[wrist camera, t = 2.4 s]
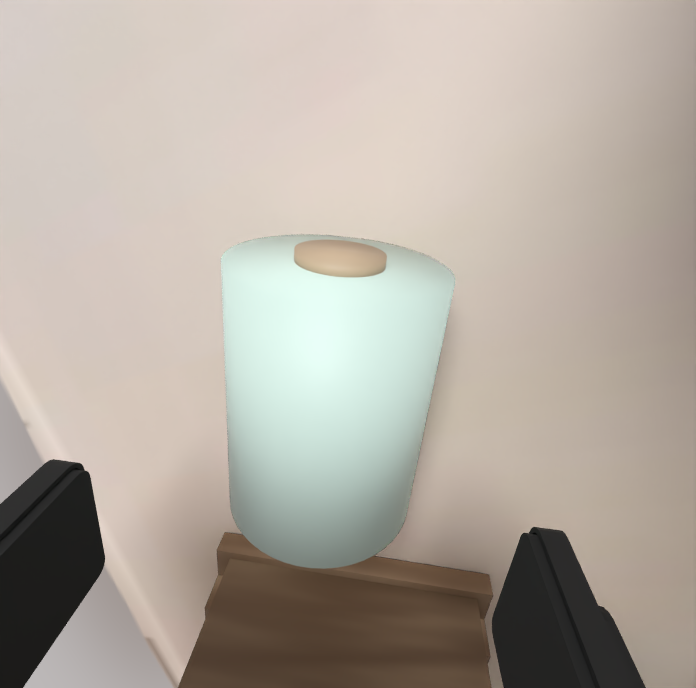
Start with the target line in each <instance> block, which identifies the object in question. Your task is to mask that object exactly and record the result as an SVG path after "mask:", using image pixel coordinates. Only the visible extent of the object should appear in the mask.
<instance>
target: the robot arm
mask: <svg viewBox="0 0 696 688" xmlns="http://www.w3.org/2000/svg"><path fill="white" fill-rule="evenodd" d="M104 563H105V554H104V549H103V543H102V538H101V533H100V527H99V522H98V516H97V511H96V505H95V500H94V495H93V489H92V484H91V478H90V474H89V473H88V472H87V471H85V470H84V467H83V465H82V464H81V463H75V462H68V461H61V460H54V459H53V460H50V461H48V462H47V463H45V464H44V465H43V466H42V467H41V468H39V469H38V470H37V471H36V472H35V473H34V474H33V475H32V476H31V477H30V478H29V479H27V480H26V481H25V482H24V483H23V484H22V485H21V486H20V487H19V488H18V489H17V490H15V492H13V493H12V494H11V495H10V496H9V497H8V498H7V499H5V500H4V501H3V502H2V503H1V504H0V688H23V687H24V685H25V683H26V682H27V681H28V679H29V678H30V677H31V675H32V673H33V672H34V671H35V669H36V668H37V666H38V665H39V663H40V662H41V660H42V659H43V658H44V656H45V655H46V653H47V652H48V650H49V649H50V647H51V646H52V644H53V643H54V641H55V640H56V638H57V637H58V635H59V634H60V633H61V631H62V630H63V628H64V627H65V625H66V624H67V622H68V621H69V619H70V618H71V616H72V615H73V613H74V612H75V611H76V609H77V608H78V606H79V605H80V603H81V602H82V600H83V599H84V598H85V596H86V595H87V593H88V592H89V590H90V589H91V587H92V586H93V584H94V583H95V581H96V580H97V578H98V577H99V575H100V574H101V572H102V569H103V567H104ZM492 633H493V638H494V643H495V648H496V653H497V658H498V662H499V667H500V672H501V677H502V682H503V686H504V688H646V687H645V685H644V683H643V681H642V679H641V677H640V675H639V673H638V670H637V668H636V666H635V664H634V662H633V660H632V658H631V656H630V653H629V651H628V649H627V647H626V645H625V643H624V641H623V639H622V636H621V634H620V632H619V630H618V628H617V626H616V624H615V622H614V620H613V618H612V617H611V615H610V613H609V612H608V611H607V610H606V609H605V608H604V607H601V606H598V604H597V602H596V600H595V598H594V595H593V593H592V591H591V589H590V587H589V584H588V582H587V580H586V578H585V575H584V573H583V571H582V569H581V567H580V564H579V562H578V560H577V558H576V555H575V553H574V551H573V549H572V547H571V544H570V542H569V540H568V538H567V536H566V534H565V533H564V532H563V531H559V530H552V529H545V528H538V527H533V528H532V529H531V530H530V532H529V534H528V533H523V534H522V535H521V537H520V540H519V543H518V546H517V549H516V552H515V554H514V557H513V560H512V563H511V566H510V569H509V571H508V574H507V577H506V580H505V583H504V586H503V588H502V591H501V594H500V597H499V600H498V603H497V605H496V608H495V611H494V614H493V618H492Z"/></svg>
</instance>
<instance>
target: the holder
mask: <svg viewBox="0 0 696 688" xmlns="http://www.w3.org/2000/svg"><path fill="white" fill-rule="evenodd" d="M217 561H218V577H217V579H216V582H215V584H214V587H213V589H212V591H211V594H210V596H209V599H208V601H207V604H206V606H205V618H206V619H205V622H204V624H203V627H202V629H201V632H200V634H199V637H198V639H197V642H196V644H195V647H194V649H193V652H192V654H191V657H190V659H189V662H188V664H187V667H186V669H185V672H184V674H183V677H182V679H181V682H180V684H179V687H178V688H491V683H490V676H489V670H488V662H489V659H490V651H489V645H488V639H487V633H486V627H485V621H484V618H485V616H486V613H487V610H488V608H489V605H490V602H491V600H492V597H493V592H492V587H491V582H490V577H489V575H488V574H482V573H475V572H469V571H463V570H457V569H451V568H444V567H438V566H432V565H426V564H419V563H413V562H407V561H401V560H394V559H388V558H382V557H376V556H372V557H370V558H368V559H366V560H364V561H361V562H358V563H355V564H352V565H348V566H343V567H338V568H326V569H322V568H307V567H300V566H295V565H292V564H288V563H284V562H282V561H279V560H277V559H275V558H272V557H270V556H269V555H267V554H265V553H264V552H262V551H260V550H259V549H258V548H256V547H255V546H254V545H253V544H251V543H250V542H249V541H248V539H247V538H246V537H245V536H244V535H239V534H233V533H226V532H225V533H224V535H223V537H222V540H221V542H220V544H219V547H218V549H217Z"/></svg>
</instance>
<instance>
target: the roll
mask: <svg viewBox="0 0 696 688" xmlns="http://www.w3.org/2000/svg"><path fill="white" fill-rule="evenodd" d="M221 273H222V300H223V327H224V354H225V381H226V408H227V435H228V462H229V489H230V506H231V511H232V515H233V518H234V520H235V522H236V524H237V527H238V528H239V529H240V531H241V532H242V534H243V535H244V536H245V537H246V538H247V539H248V541H249V542H250V543H251V544H253V545H254V546H255V547H256V548H258V549H259V550H260V551H262V552H264V553H265V554H267V555H269V556H270V557H272V558H275V559H277V560H279V561H282V562H284V563H288V564H292V565H295V566H300V567H307V568H322V569H326V568H338V567H343V566H348V565H352V564H355V563H358V562H361V561H364V560H366V559H368V558H370V557H372V556H374V555H375V554H377V553H378V552H380V551H381V550H383V549H384V548H385V547H386V546H387V545H389V544H390V543H391V542H392V541H393V539H394V538H395V537H396V536H397V534H398V533H399V531H400V529H401V528H402V526H403V524H404V521H405V518H406V514H407V510H408V505H409V500H410V495H411V491H412V486H413V481H414V476H415V472H416V467H417V462H418V457H419V453H420V448H421V443H422V438H423V434H424V429H425V424H426V419H427V414H428V410H429V405H430V400H431V395H432V391H433V386H434V381H435V376H436V372H437V367H438V362H439V357H440V353H441V348H442V343H443V338H444V334H445V329H446V324H447V319H448V315H449V310H450V305H451V300H452V296H453V291H454V286H455V276H454V274H453V273H452V271H451V270H450V269H449V268H448V267H447V266H445V265H444V264H442V263H441V262H439V261H437V260H436V259H434V258H432V257H429V256H427V255H425V254H422V253H419V252H417V251H414V250H411V249H407V248H404V247H400V246H396V245H393V244H388V243H383V242H379V241H373V240H367V239H358V238H350V237H341V236H332V235H282V236H272V237H264V238H259V239H253V240H250V241H246V242H243V243H240V244H237V245H235V246H233V247H231V248H229V249H228V250H227V251H225V253H224V254H223V255H222V258H221Z"/></svg>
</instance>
